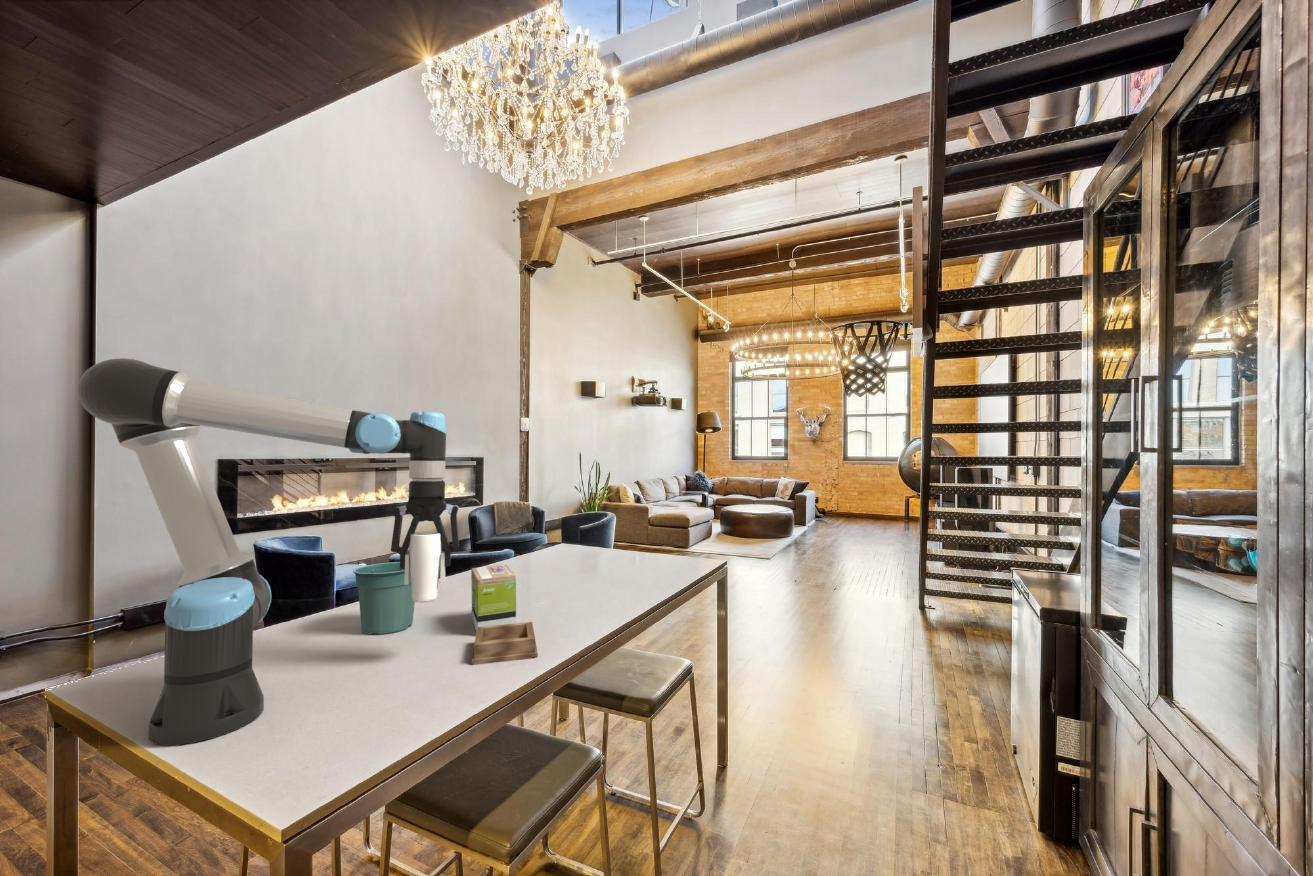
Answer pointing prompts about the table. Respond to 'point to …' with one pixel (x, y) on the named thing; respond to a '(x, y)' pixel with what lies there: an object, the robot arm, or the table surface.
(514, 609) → the tea box
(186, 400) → the robot arm
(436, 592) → the drinking glass
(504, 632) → the walnut dock
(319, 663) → the table surface
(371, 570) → the flower pot
